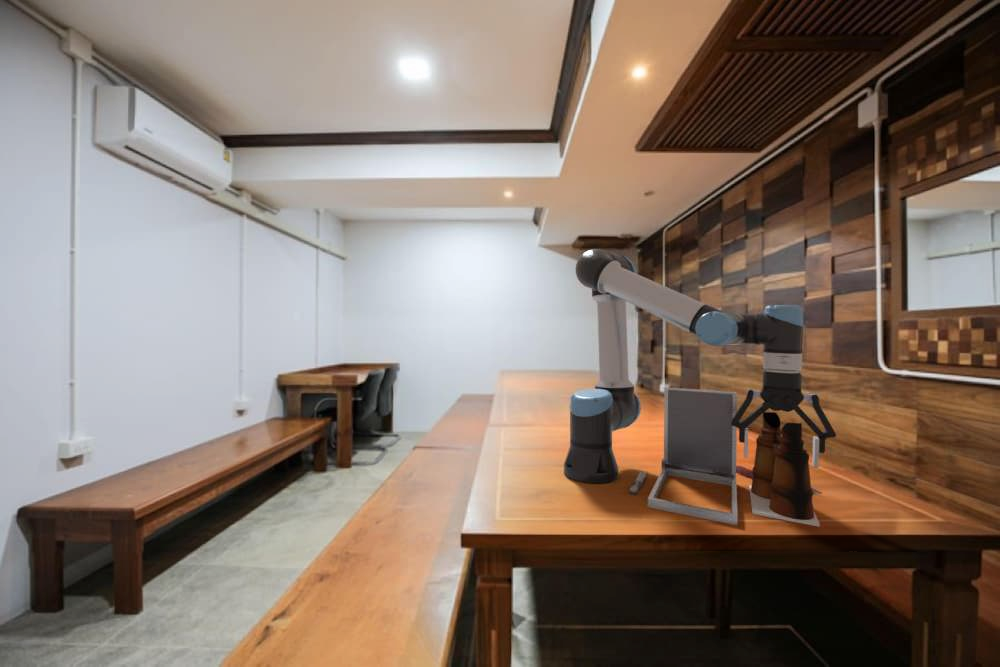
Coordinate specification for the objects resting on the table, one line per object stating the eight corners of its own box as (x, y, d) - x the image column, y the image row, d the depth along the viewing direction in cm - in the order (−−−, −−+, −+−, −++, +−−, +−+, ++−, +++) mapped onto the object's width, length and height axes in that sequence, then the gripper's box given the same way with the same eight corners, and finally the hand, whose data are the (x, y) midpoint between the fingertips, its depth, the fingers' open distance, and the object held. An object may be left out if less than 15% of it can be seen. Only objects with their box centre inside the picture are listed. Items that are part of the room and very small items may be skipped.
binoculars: (745, 486, 107) (746, 409, 107) (780, 488, 106) (781, 410, 105) (780, 518, 89) (781, 425, 89) (823, 521, 87) (824, 427, 87)
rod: (629, 495, 103) (629, 487, 103) (640, 477, 116) (639, 471, 116) (636, 496, 103) (636, 488, 103) (646, 478, 115) (646, 471, 115)
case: (646, 506, 96) (647, 401, 95) (663, 472, 119) (663, 387, 119) (737, 525, 87) (738, 409, 87) (736, 483, 110) (737, 392, 110)
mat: (752, 513, 92) (752, 511, 92) (749, 487, 108) (749, 485, 108) (819, 526, 86) (819, 523, 86) (805, 496, 102) (806, 494, 102)
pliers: (799, 501, 101) (799, 490, 101) (732, 473, 120) (733, 464, 120) (834, 496, 103) (835, 486, 103) (764, 470, 123) (764, 461, 123)
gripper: (721, 368, 100) (719, 456, 100) (854, 376, 88) (851, 476, 88) (721, 366, 106) (719, 448, 107) (846, 373, 94) (843, 465, 95)
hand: (779, 461), depth 97 cm, fingers open, 13 cm apart
